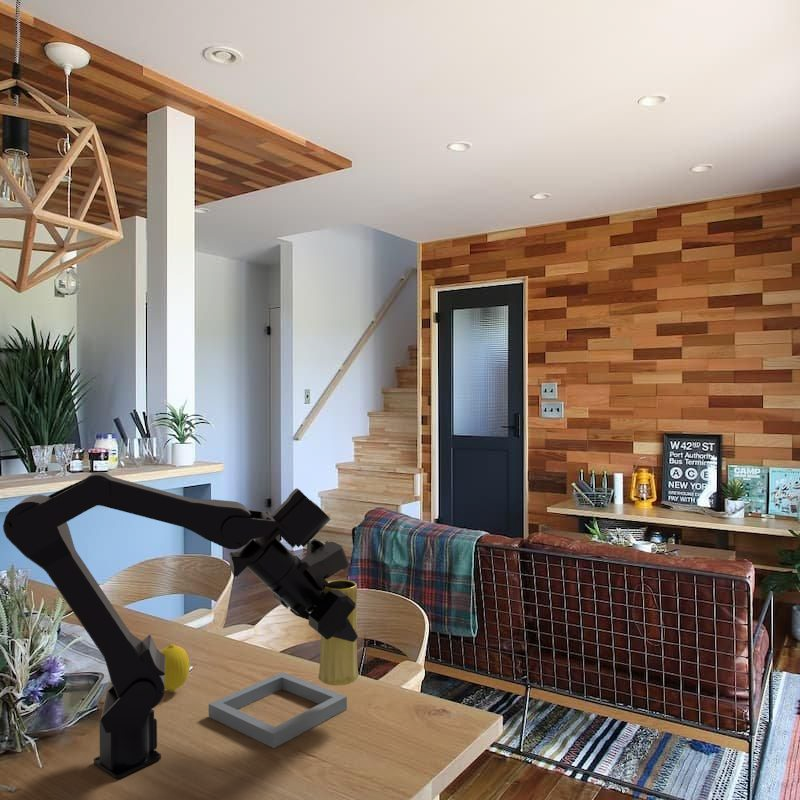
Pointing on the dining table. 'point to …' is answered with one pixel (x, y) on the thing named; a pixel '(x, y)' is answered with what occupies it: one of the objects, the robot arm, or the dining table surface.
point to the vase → (340, 645)
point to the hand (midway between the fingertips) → (347, 633)
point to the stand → (287, 730)
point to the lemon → (175, 667)
